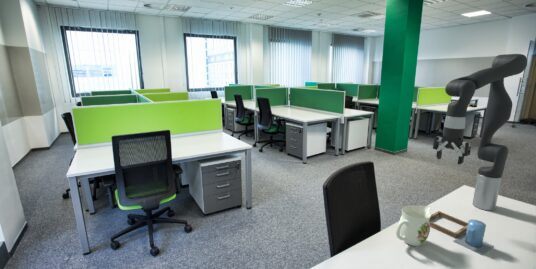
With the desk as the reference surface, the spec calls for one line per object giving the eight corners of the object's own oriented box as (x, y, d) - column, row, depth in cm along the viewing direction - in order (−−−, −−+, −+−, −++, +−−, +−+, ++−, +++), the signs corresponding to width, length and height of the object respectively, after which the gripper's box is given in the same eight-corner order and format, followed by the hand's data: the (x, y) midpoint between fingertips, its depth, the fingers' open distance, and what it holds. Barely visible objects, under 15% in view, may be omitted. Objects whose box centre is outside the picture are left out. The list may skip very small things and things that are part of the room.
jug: (468, 237, 111) (472, 218, 109) (484, 244, 106) (488, 224, 104) (459, 243, 107) (463, 223, 105) (475, 251, 102) (479, 230, 100)
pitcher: (383, 240, 110) (387, 210, 107) (413, 229, 117) (416, 200, 114) (407, 256, 100) (411, 223, 97) (437, 243, 108) (442, 212, 105)
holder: (438, 214, 130) (438, 211, 129) (471, 228, 118) (472, 224, 117) (421, 222, 122) (422, 219, 122) (455, 238, 111) (456, 234, 110)
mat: (465, 233, 114) (465, 233, 114) (493, 246, 106) (493, 245, 105) (453, 241, 109) (453, 240, 109) (482, 255, 101) (482, 254, 100)
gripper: (477, 128, 113) (470, 164, 116) (441, 123, 125) (436, 156, 128) (468, 130, 109) (462, 167, 113) (432, 124, 121) (428, 158, 125)
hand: (448, 161), depth 121 cm, fingers open, 8 cm apart
